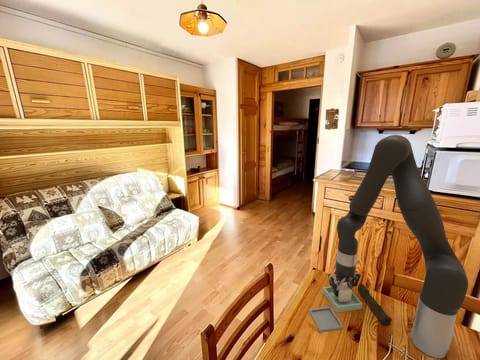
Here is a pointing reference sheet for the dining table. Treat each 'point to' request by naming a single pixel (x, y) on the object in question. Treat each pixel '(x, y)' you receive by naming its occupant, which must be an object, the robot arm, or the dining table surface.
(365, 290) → the hand tool
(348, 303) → the bin
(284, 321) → the dining table surface
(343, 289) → the beige block
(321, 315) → the bin
